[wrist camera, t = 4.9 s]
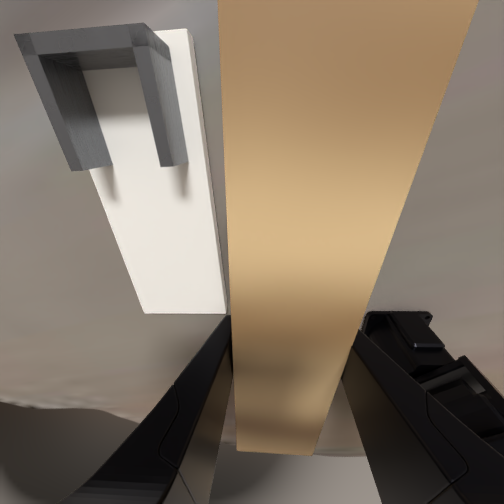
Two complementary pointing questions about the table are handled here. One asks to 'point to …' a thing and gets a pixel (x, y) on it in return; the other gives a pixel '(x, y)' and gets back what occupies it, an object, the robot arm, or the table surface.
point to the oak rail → (318, 185)
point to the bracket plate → (139, 152)
